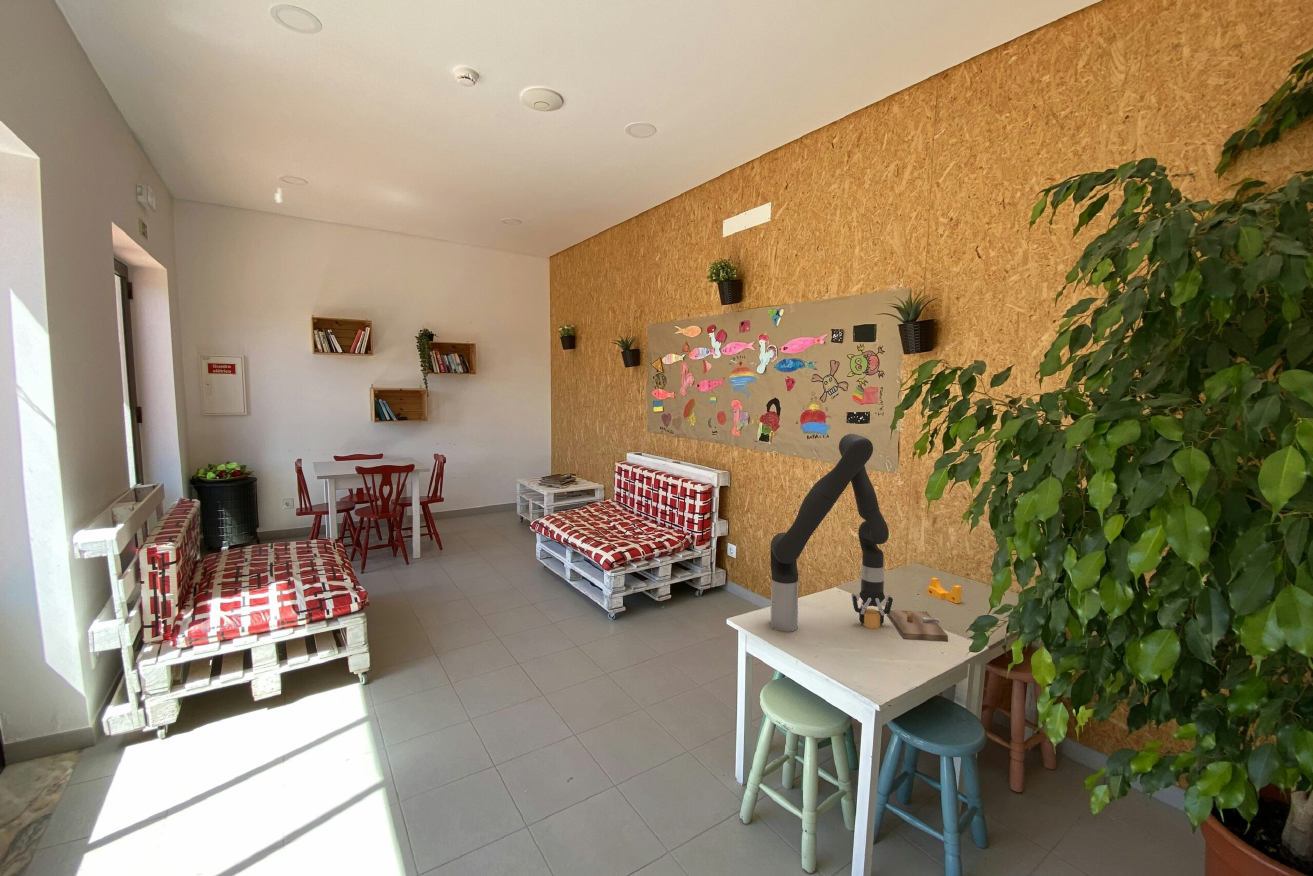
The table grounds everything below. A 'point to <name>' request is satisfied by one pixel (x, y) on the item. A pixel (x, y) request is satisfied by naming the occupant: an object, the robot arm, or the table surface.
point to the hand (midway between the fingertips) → (871, 623)
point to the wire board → (917, 625)
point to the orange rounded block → (871, 618)
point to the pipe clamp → (940, 593)
